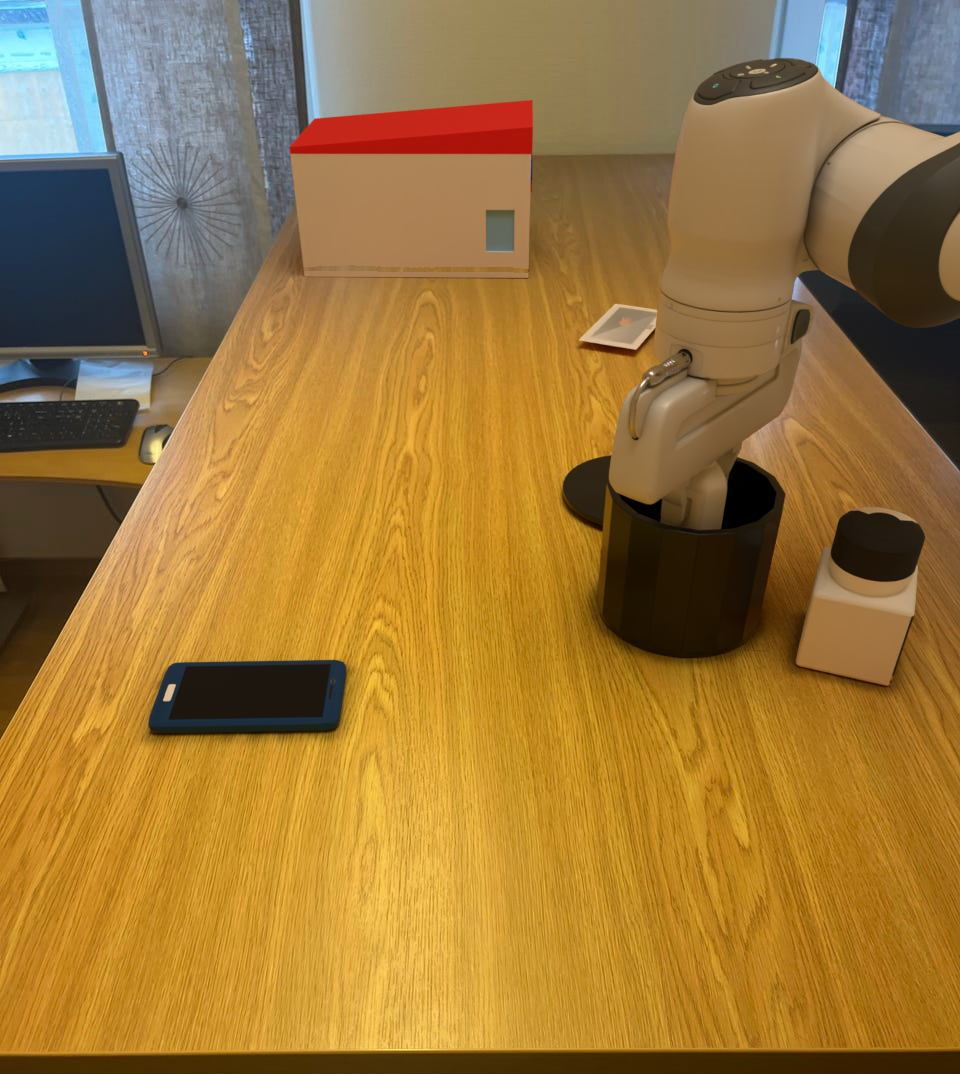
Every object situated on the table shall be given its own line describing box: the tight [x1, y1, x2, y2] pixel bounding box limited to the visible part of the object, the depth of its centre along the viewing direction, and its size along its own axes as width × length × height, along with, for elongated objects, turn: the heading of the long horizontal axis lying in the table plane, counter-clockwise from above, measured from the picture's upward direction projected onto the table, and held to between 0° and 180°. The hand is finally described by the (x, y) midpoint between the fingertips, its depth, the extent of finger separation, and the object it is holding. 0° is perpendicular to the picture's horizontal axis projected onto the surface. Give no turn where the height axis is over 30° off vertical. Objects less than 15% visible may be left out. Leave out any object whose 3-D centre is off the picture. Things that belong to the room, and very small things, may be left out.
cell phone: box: [147, 659, 347, 734], centre depth 73 cm, size 7×14×1 cm, turn 91°
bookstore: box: [289, 99, 534, 279], centre depth 152 cm, size 21×35×21 cm, turn 88°
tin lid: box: [561, 454, 612, 527], centre depth 95 cm, size 14×14×6 cm
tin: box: [596, 456, 786, 659], centre depth 79 cm, size 13×13×12 cm
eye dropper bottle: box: [660, 461, 727, 530], centre depth 75 cm, size 4×6×12 cm
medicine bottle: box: [795, 506, 926, 686], centre depth 74 cm, size 7×7×12 cm
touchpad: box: [578, 303, 657, 351], centre depth 131 cm, size 8×15×2 cm, turn 155°
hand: (693, 505), depth 76 cm, fingers closed on eye dropper bottle, 4 cm apart
